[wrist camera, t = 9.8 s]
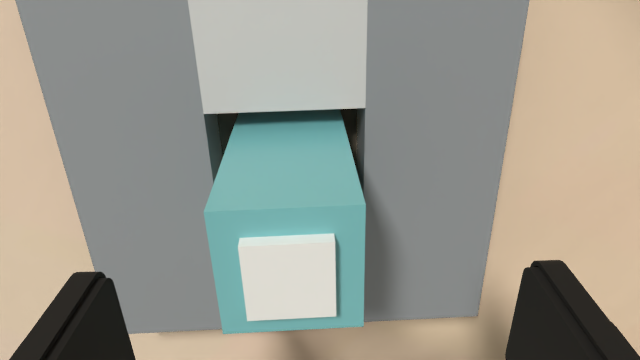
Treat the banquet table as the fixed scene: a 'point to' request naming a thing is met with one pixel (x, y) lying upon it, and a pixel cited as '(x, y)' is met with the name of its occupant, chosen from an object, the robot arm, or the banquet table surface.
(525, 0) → the socket plate
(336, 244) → the block
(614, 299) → the banquet table surface
